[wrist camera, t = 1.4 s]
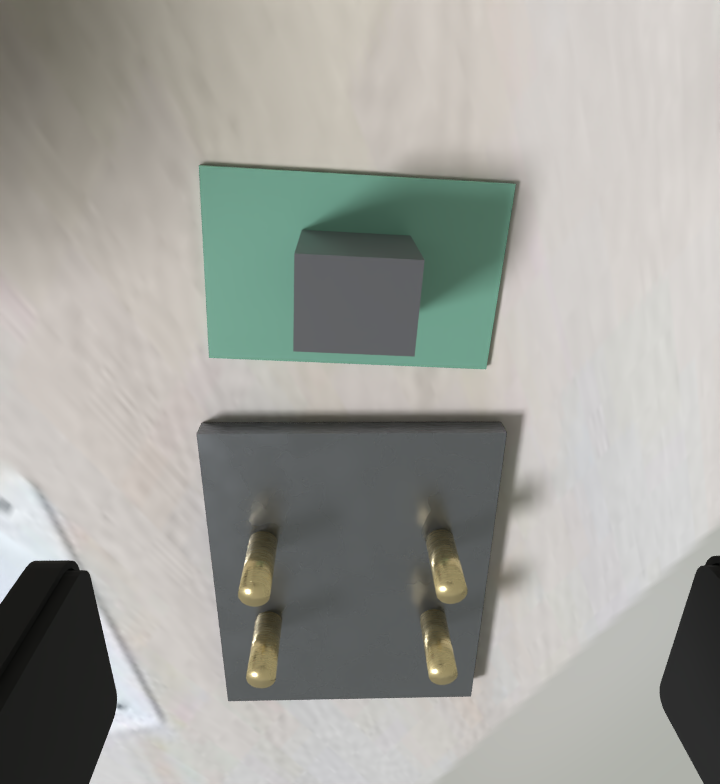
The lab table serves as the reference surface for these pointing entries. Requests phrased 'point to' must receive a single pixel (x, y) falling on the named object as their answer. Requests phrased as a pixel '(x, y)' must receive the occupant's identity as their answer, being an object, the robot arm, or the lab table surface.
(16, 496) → the lab table surface
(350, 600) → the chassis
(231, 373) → the lab table surface
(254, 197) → the circuit board
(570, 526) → the lab table surface
